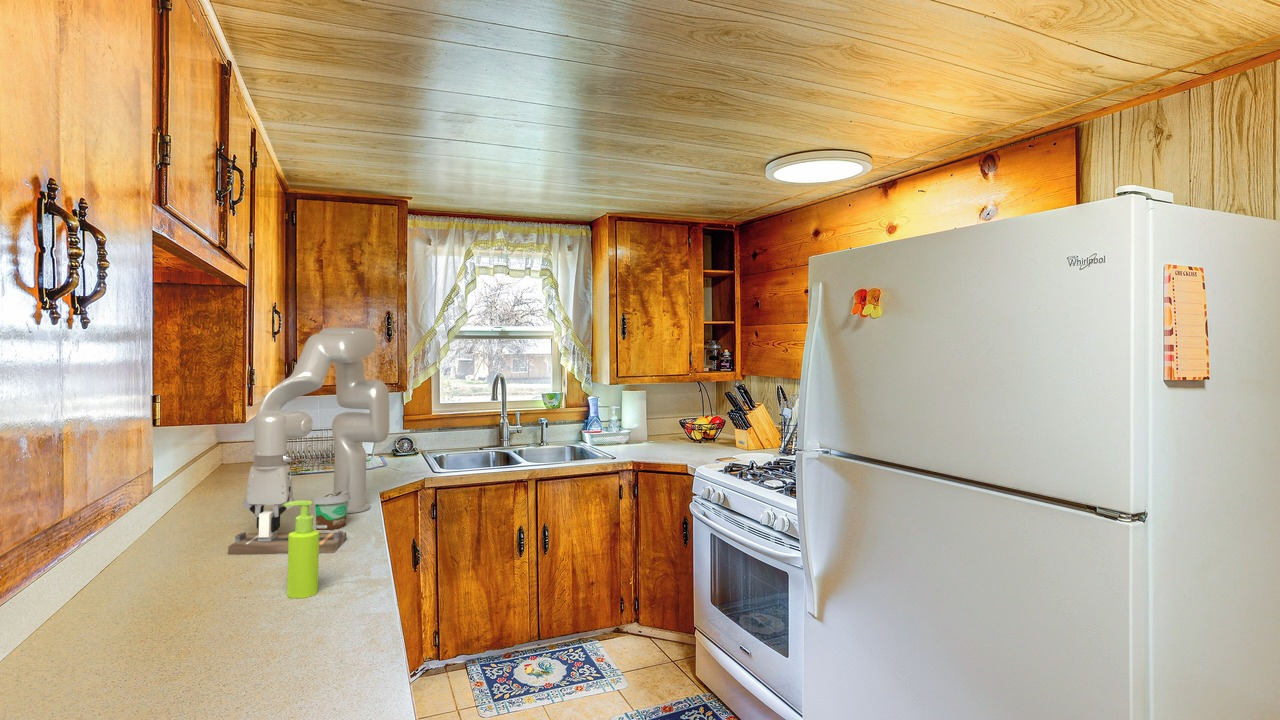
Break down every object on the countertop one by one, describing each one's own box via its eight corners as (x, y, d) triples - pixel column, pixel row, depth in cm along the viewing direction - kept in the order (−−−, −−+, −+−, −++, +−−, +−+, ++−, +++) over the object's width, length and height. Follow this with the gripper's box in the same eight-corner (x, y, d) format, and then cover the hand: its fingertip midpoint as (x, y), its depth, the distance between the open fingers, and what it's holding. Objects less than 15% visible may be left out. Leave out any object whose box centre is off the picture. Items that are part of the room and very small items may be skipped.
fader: (266, 535, 177) (266, 508, 177) (278, 535, 177) (279, 508, 177) (257, 542, 171) (257, 514, 171) (269, 541, 171) (270, 514, 171)
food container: (332, 533, 188) (332, 498, 188) (312, 531, 189) (313, 497, 189) (358, 523, 200) (359, 490, 200) (340, 521, 201) (341, 488, 201)
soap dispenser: (282, 590, 144) (285, 499, 144) (318, 587, 147) (320, 497, 146) (280, 600, 139) (282, 505, 138) (316, 596, 141) (319, 503, 141)
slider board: (247, 540, 179) (248, 528, 179) (346, 539, 183) (346, 526, 183) (228, 554, 167) (228, 540, 167) (333, 552, 171) (334, 539, 171)
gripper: (307, 459, 179) (305, 527, 179) (242, 458, 176) (241, 527, 176) (297, 463, 171) (296, 534, 172) (230, 463, 169) (228, 535, 169)
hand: (268, 530), depth 174 cm, fingers closed on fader, 2 cm apart
